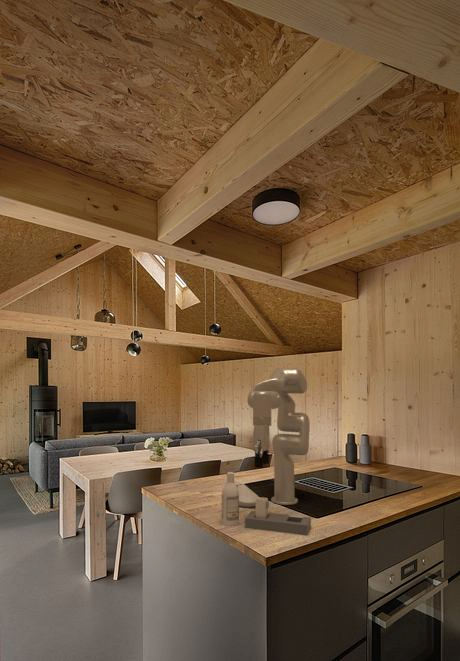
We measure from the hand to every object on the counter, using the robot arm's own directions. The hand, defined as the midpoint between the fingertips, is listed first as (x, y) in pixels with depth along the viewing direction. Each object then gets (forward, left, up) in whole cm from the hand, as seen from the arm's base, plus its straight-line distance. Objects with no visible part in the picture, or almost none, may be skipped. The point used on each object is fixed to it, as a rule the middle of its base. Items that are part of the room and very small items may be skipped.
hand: (261, 465), depth 166 cm
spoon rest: (-30, -17, -24) cm, 42 cm away
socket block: (0, +6, -23) cm, 24 cm away
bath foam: (+2, -13, -24) cm, 27 cm away
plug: (0, 0, -23) cm, 23 cm away
